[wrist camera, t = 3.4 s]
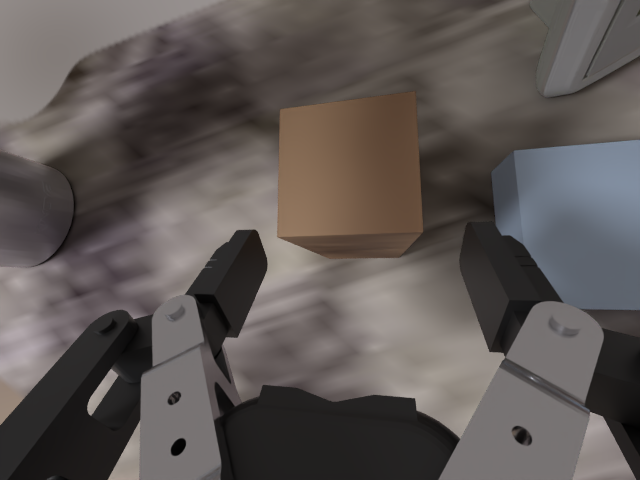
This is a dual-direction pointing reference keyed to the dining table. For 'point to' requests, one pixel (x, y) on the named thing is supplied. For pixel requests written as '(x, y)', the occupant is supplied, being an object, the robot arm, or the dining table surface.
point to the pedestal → (577, 218)
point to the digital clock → (584, 41)
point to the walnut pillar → (351, 177)
